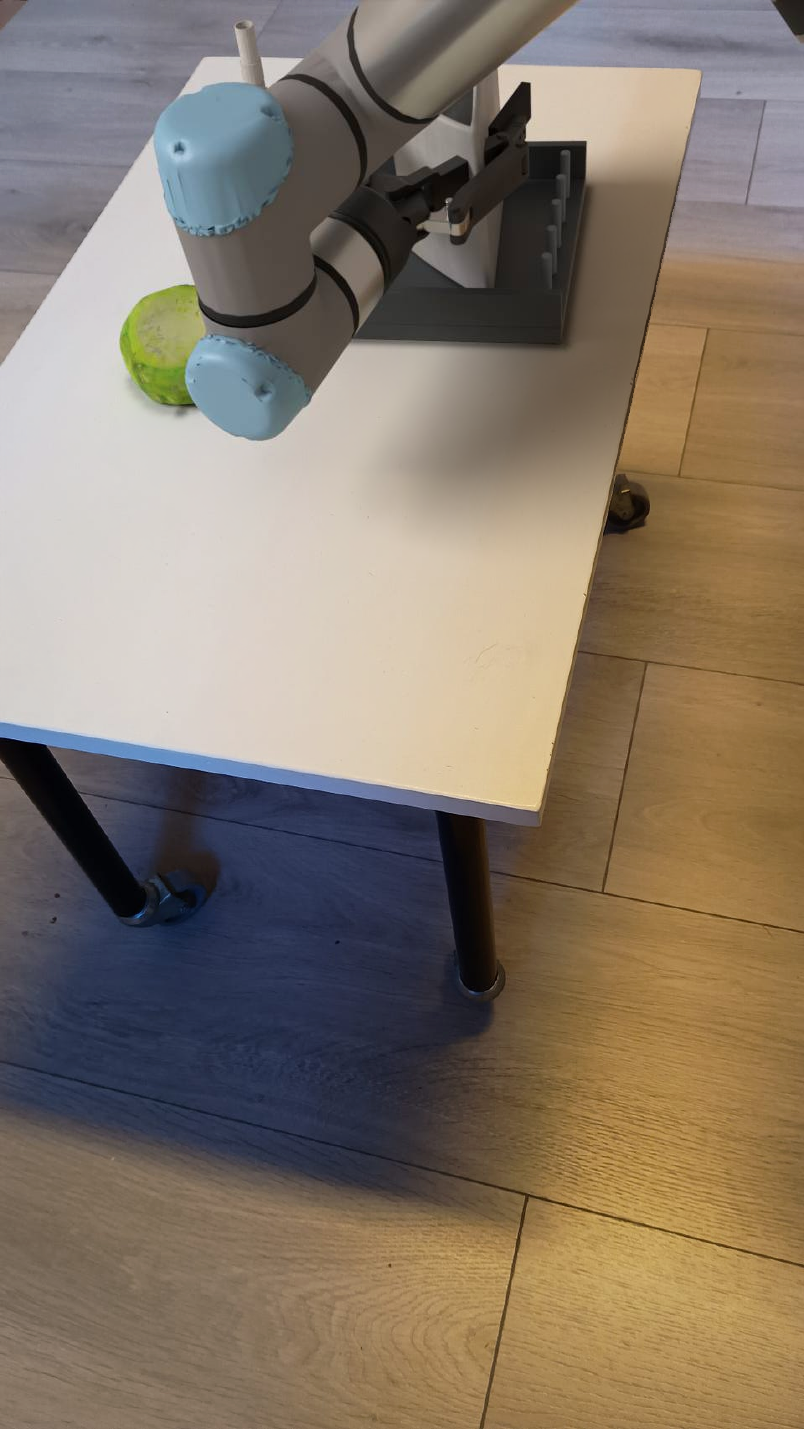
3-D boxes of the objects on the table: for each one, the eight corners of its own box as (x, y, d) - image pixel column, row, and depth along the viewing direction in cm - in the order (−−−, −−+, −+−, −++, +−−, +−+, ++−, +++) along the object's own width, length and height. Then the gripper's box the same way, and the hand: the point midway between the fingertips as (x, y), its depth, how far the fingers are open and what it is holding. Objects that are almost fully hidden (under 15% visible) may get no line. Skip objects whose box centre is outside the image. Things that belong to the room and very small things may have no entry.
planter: (416, 192, 99) (384, -51, 84) (505, 186, 98) (489, -62, 82) (396, 305, 90) (355, 56, 75) (493, 300, 89) (473, 45, 73)
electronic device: (360, 48, 99) (206, 37, 102) (372, 155, 107) (228, 142, 110) (378, 18, 101) (227, 9, 105) (388, 124, 109) (248, 113, 113)
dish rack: (585, 189, 99) (587, 128, 95) (560, 344, 88) (561, 283, 84) (368, 189, 103) (359, 131, 98) (318, 337, 92) (306, 280, 87)
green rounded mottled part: (147, 318, 96) (129, 268, 92) (269, 316, 94) (256, 264, 90) (113, 411, 90) (92, 361, 86) (242, 410, 88) (227, 360, 84)
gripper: (222, 280, 84) (356, 120, 94) (485, 336, 77) (598, 157, 87) (196, 187, 78) (342, 26, 88) (479, 239, 71) (602, 58, 81)
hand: (469, 91), depth 88 cm, fingers closed on planter, 9 cm apart
